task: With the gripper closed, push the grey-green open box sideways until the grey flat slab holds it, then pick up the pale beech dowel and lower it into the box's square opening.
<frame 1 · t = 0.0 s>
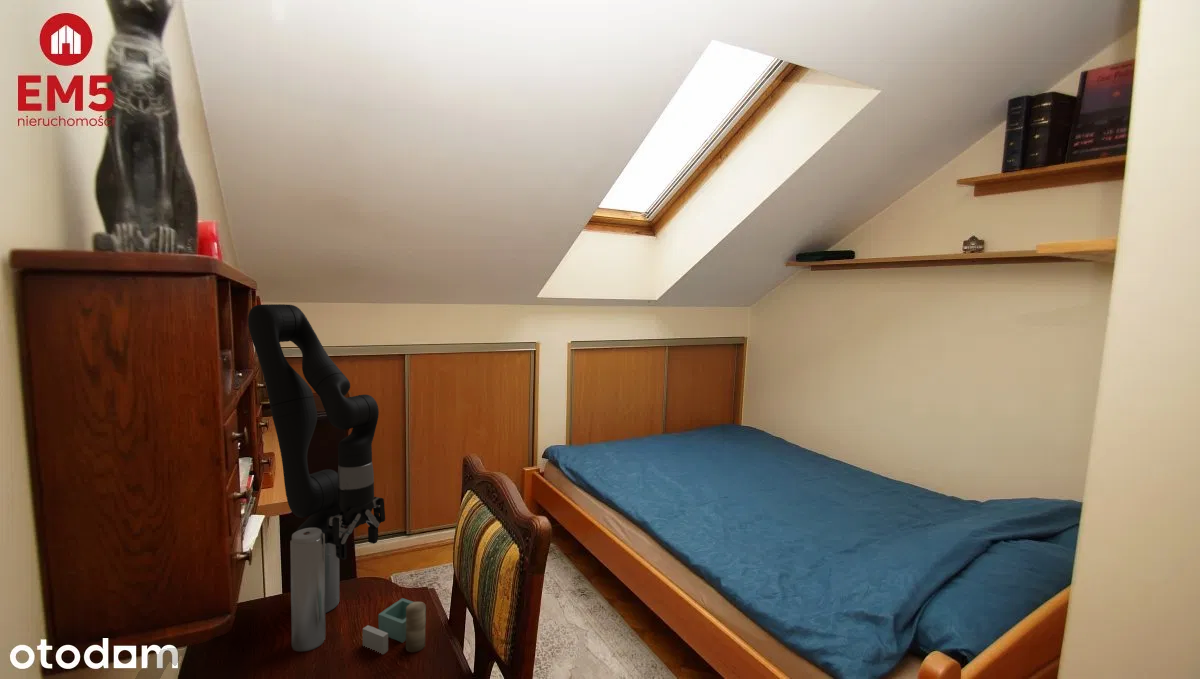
hand: (357, 550, 120), 17 cm above the table, tool pointing down, fingers open, 8 cm apart
grey flat slab: (375, 648, 113), on the table
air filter: (308, 642, 114), on the table
dowel: (415, 646, 114), on the table
grey-green open box: (402, 619, 119), point 2 cm above the table, slide at 0.0 cm
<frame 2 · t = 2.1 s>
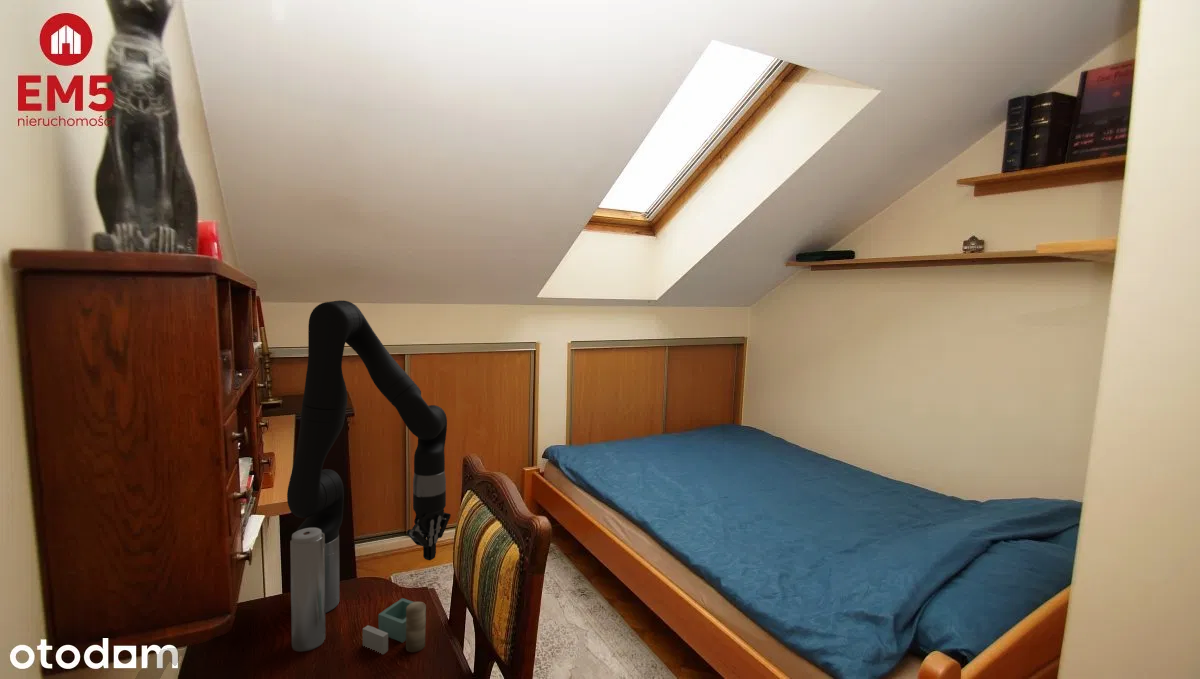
hand: (429, 558, 126), 13 cm above the table, tool pointing down, fingers closed
nothing on the table moved.
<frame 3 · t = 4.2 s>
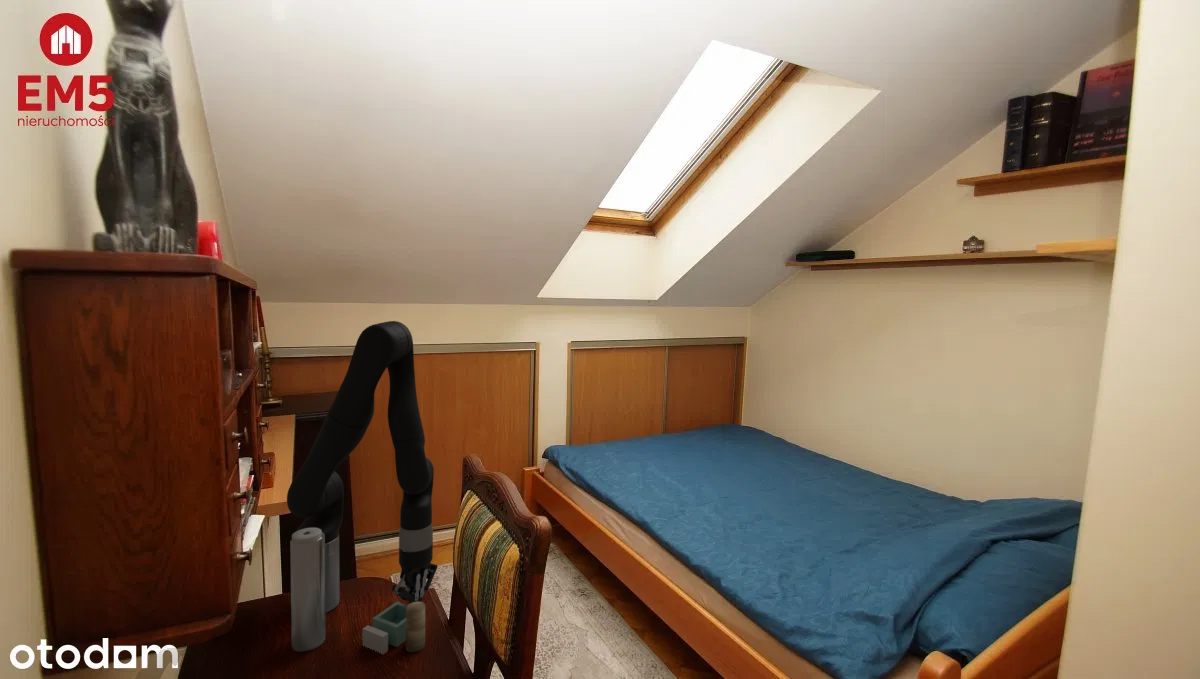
hand: (415, 612, 123), 1 cm above the table, tool pointing down, fingers closed
grey-green open box: (396, 623, 118), point 2 cm above the table, slide at 1.7 cm, touching gripper
everything else where it was.
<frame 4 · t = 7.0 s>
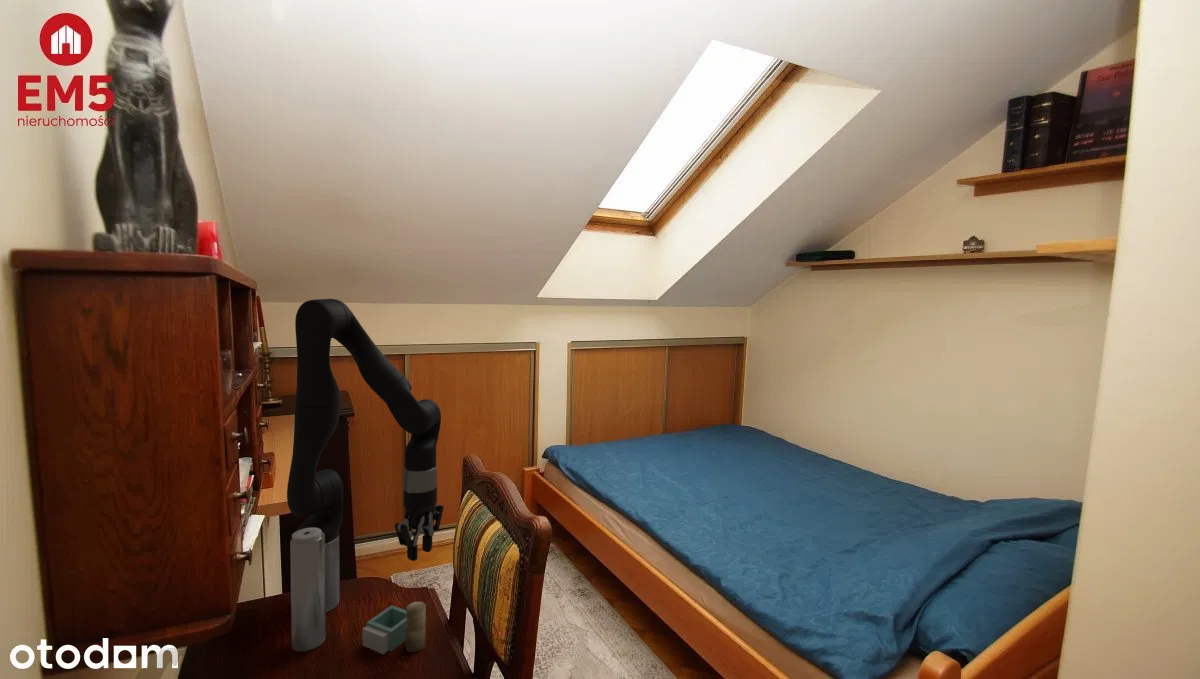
hand: (419, 555, 123), 15 cm above the table, tool pointing down, fingers open, 4 cm apart
grey-green open box: (391, 627, 116), point 2 cm above the table, slide at 3.3 cm
everything else where it was.
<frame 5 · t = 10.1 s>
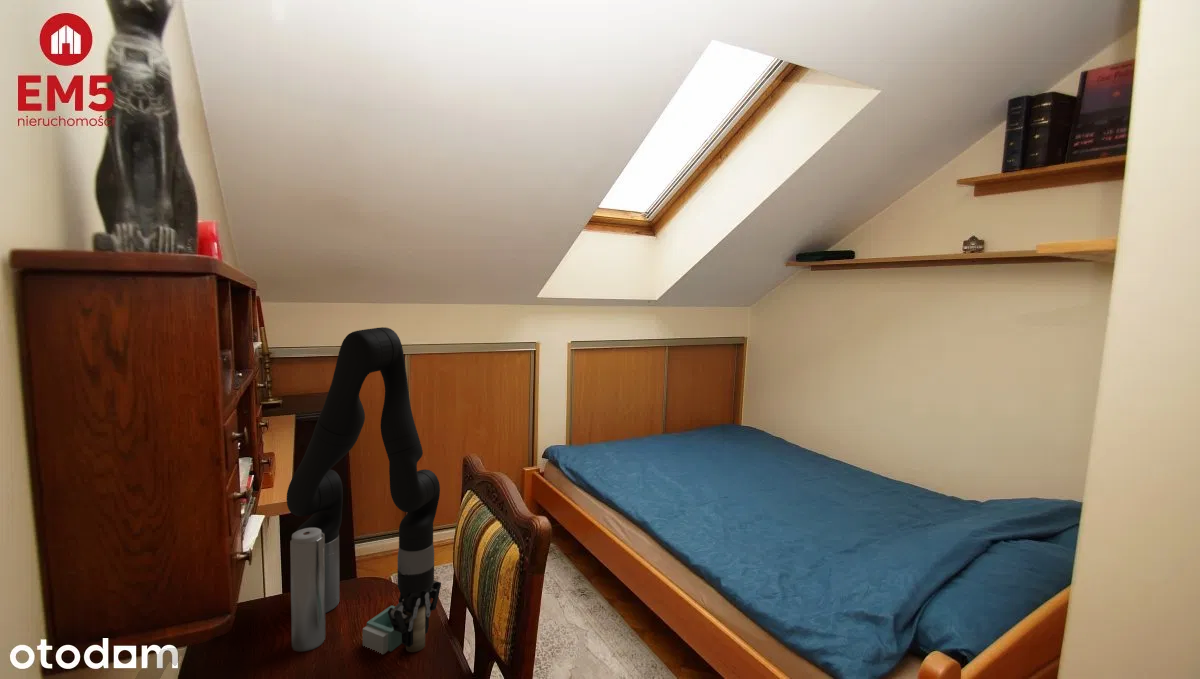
hand: (415, 638, 114), 2 cm above the table, tool pointing down, fingers closed on dowel, 4 cm apart
dowel: (415, 646, 114), on the table, touching gripper
everything else where it was.
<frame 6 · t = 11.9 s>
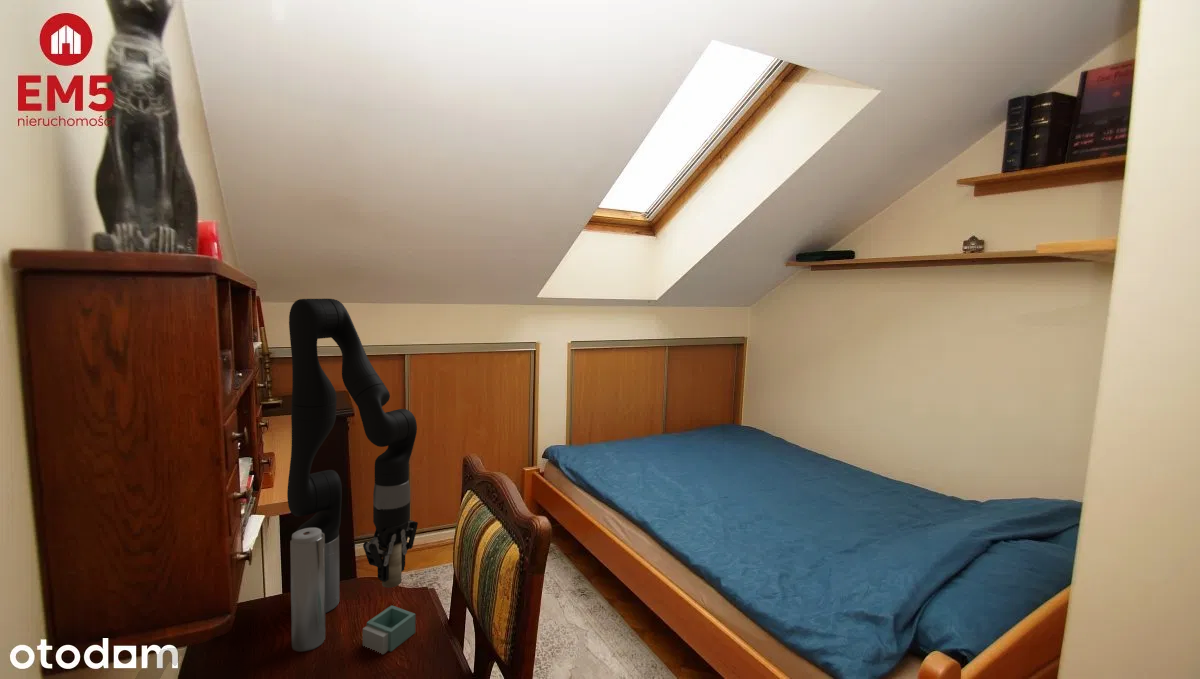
hand: (391, 575, 115), 15 cm above the table, tool pointing down, fingers closed on dowel, 4 cm apart
dowel: (391, 582, 115), point 13 cm above the table, touching gripper
everything else where it was.
when the fingers open (5 cm above the table, at t = 13.8 s): dowel drops 2 cm, resting on grey-green open box.
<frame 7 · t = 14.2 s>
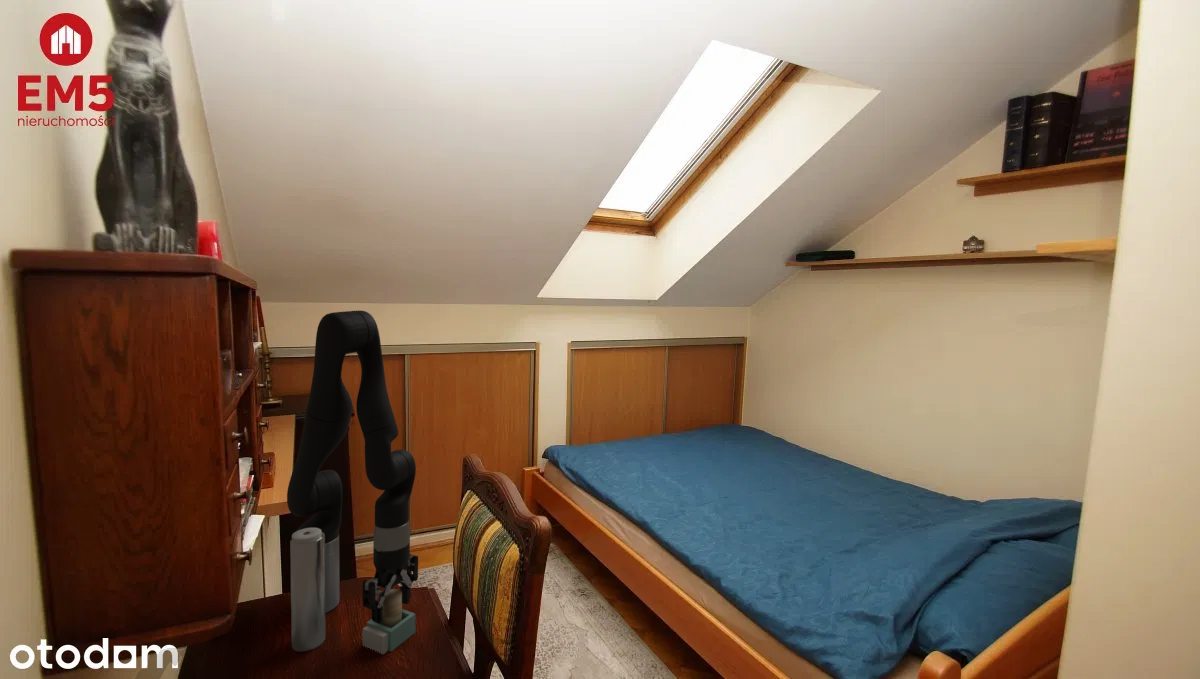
hand: (391, 612, 116), 6 cm above the table, tool pointing down, fingers open, 7 cm apart
dowel: (392, 632, 117), point 1 cm above the table, touching grey-green open box
grey-green open box: (391, 627, 116), point 2 cm above the table, slide at 3.3 cm, touching dowel
everything else where it was.
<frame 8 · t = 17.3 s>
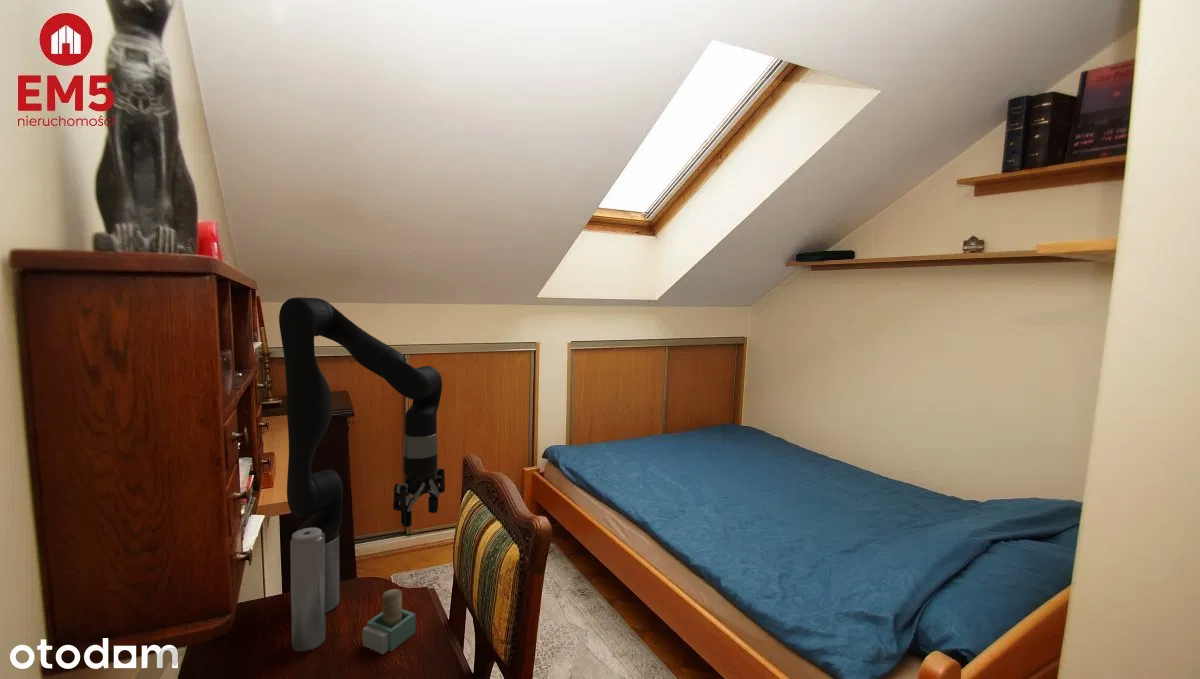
hand: (420, 518, 122), 24 cm above the table, tool pointing down, fingers open, 8 cm apart
nothing on the table moved.
at the end: dowel 0.2 cm off-centre on the grey-green open box, point 1.0 cm above the grey-green open box's base; dowel tilted 0°; grey-green open box slide at 3.3 cm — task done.
